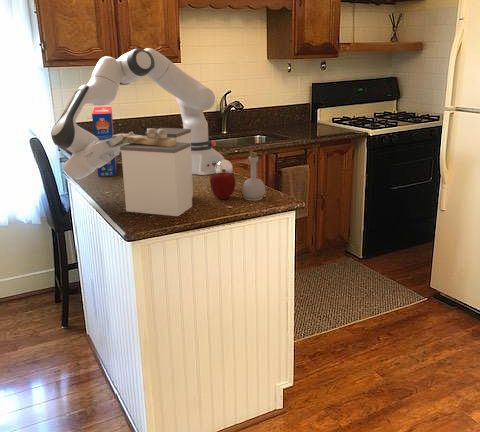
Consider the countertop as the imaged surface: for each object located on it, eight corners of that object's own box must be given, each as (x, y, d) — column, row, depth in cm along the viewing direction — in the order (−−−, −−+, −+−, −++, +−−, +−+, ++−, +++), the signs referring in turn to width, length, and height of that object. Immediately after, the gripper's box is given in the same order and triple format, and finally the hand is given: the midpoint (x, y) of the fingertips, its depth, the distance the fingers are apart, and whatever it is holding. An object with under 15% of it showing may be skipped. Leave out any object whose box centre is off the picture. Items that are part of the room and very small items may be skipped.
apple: (210, 194, 203) (209, 169, 200) (235, 194, 204) (234, 169, 201) (210, 201, 194) (209, 175, 191) (236, 201, 195) (235, 174, 192)
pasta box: (116, 175, 237) (110, 113, 228) (98, 176, 235) (91, 113, 227) (116, 163, 263) (111, 106, 255) (100, 163, 261) (94, 107, 253)
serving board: (112, 141, 181) (111, 127, 180) (120, 138, 186) (120, 124, 185) (169, 147, 175) (169, 132, 173) (176, 144, 180) (176, 129, 178)
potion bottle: (241, 195, 202) (240, 149, 196) (263, 194, 202) (263, 148, 197) (243, 201, 193) (242, 153, 188) (266, 201, 194) (266, 153, 189)
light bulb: (235, 187, 214) (234, 158, 210) (229, 191, 208) (229, 161, 204) (219, 186, 216) (218, 157, 212) (213, 190, 210) (212, 160, 206)
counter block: (125, 211, 184) (119, 137, 176) (157, 193, 206) (153, 127, 198) (178, 216, 178) (174, 140, 170) (205, 197, 200) (203, 129, 192)
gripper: (77, 150, 178) (106, 131, 172) (110, 140, 196) (137, 123, 191) (87, 166, 179) (115, 148, 173) (119, 155, 197) (146, 138, 191)
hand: (127, 135), depth 182 cm, fingers open, 5 cm apart
